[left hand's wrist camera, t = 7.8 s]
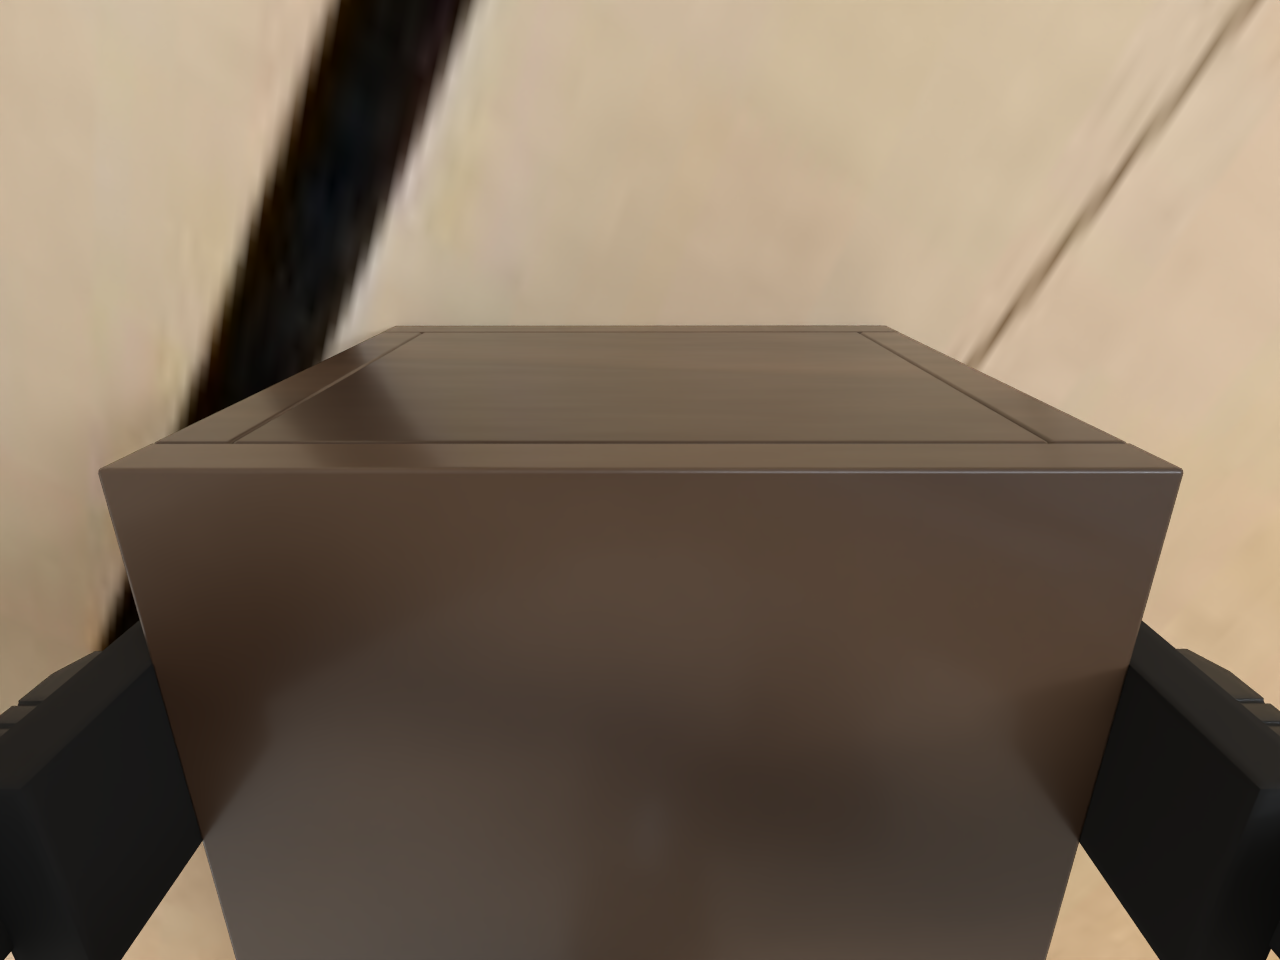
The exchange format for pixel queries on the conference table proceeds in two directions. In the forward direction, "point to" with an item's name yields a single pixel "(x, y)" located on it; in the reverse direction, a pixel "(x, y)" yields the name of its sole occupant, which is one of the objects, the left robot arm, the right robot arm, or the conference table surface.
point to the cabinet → (640, 644)
